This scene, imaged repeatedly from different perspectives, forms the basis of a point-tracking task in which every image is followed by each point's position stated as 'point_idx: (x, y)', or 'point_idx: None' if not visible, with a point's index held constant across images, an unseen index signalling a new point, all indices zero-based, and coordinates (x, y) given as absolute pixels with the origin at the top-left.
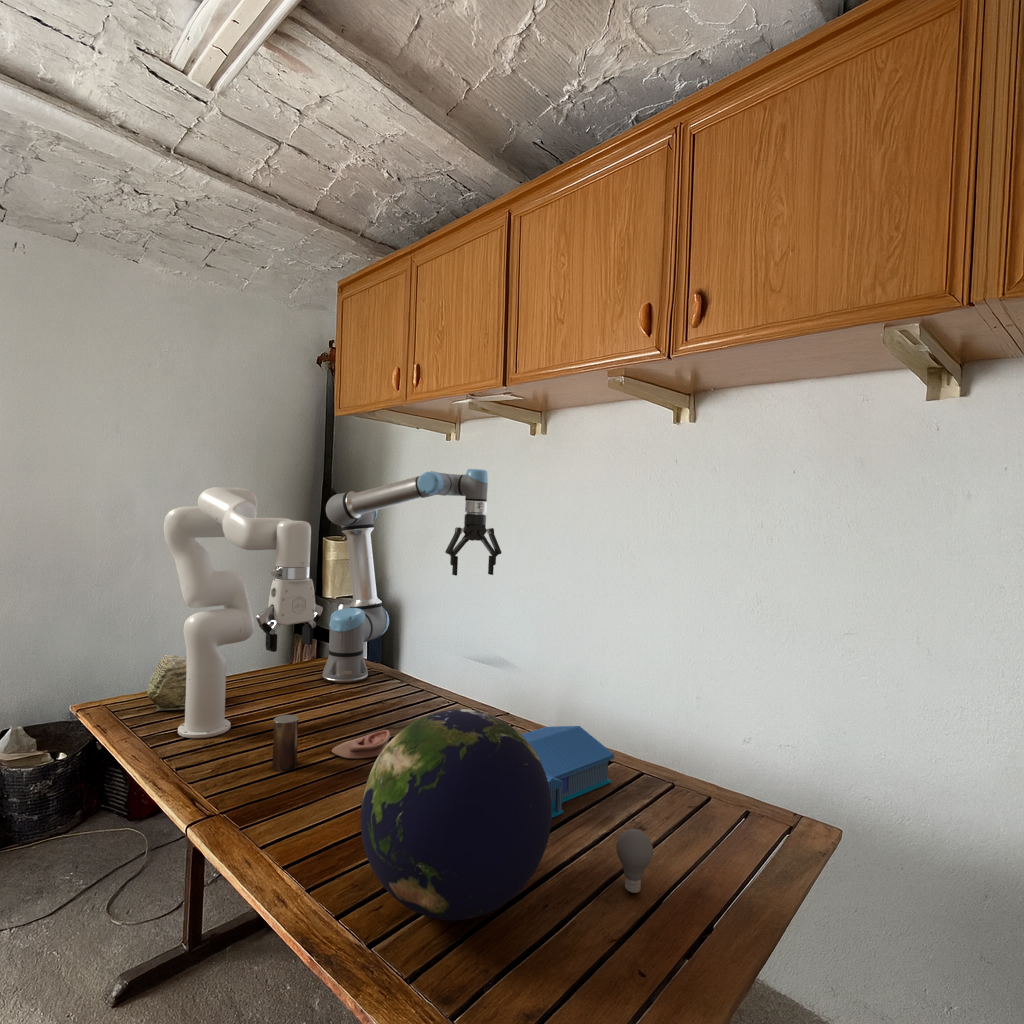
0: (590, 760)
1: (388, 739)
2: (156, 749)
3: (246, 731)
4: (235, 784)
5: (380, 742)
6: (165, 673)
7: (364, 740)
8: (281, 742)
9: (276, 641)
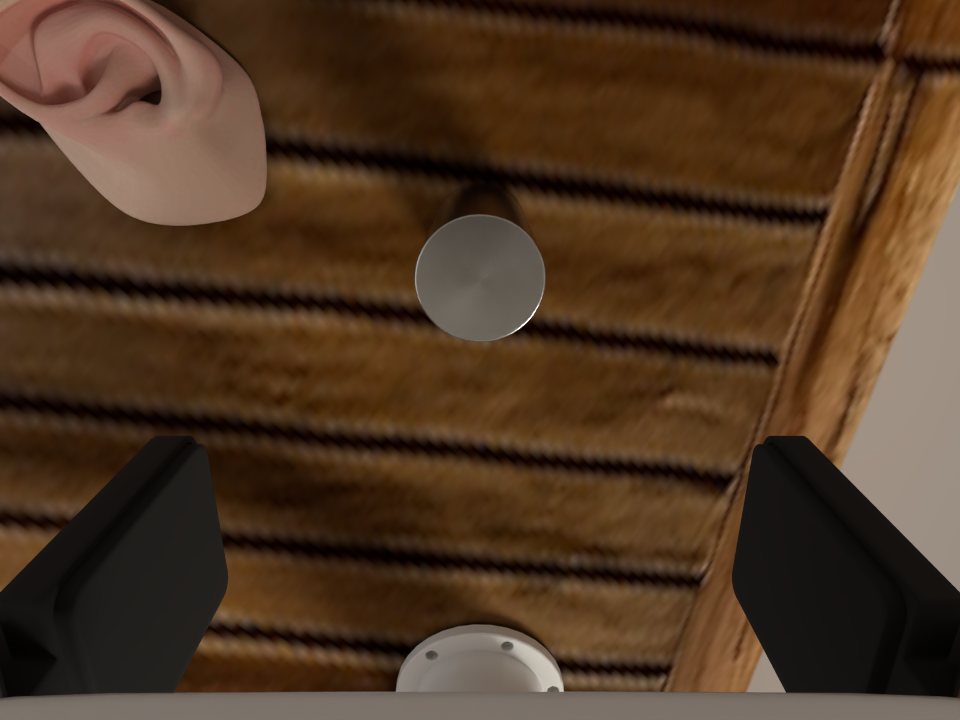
0: None
1: None
2: (667, 651)
3: (386, 594)
4: (695, 232)
5: (62, 13)
6: None
7: (114, 103)
8: (527, 223)
9: (842, 512)
